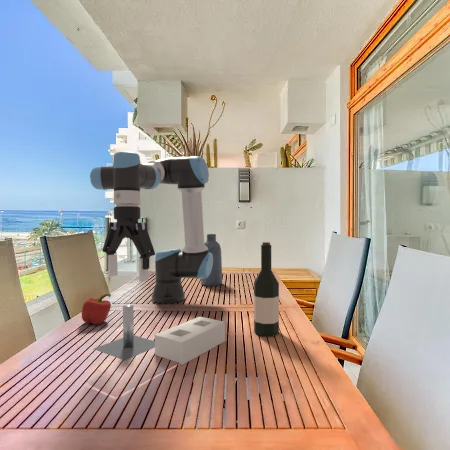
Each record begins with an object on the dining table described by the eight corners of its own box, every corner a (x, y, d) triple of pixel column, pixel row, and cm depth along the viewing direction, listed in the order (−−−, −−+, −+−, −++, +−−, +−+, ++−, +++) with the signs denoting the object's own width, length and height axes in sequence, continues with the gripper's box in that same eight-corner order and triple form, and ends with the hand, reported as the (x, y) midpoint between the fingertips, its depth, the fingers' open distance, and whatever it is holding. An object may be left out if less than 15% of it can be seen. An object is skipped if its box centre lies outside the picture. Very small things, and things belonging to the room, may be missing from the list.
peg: (121, 346, 99) (120, 306, 99) (129, 343, 101) (128, 303, 101) (127, 348, 97) (127, 307, 97) (136, 345, 100) (135, 305, 99)
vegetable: (105, 316, 130) (105, 290, 130) (118, 322, 123) (117, 295, 122) (76, 322, 122) (76, 295, 122) (88, 329, 115) (87, 300, 115)
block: (182, 365, 87) (181, 342, 87) (154, 356, 93) (154, 334, 93) (225, 341, 104) (225, 321, 104) (199, 334, 110) (199, 316, 109)
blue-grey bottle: (226, 283, 192) (226, 234, 191) (214, 287, 182) (214, 235, 181) (209, 281, 199) (208, 233, 198) (196, 284, 188) (196, 234, 188)
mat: (93, 349, 97) (93, 348, 97) (131, 335, 109) (131, 334, 109) (125, 361, 90) (125, 360, 90) (162, 344, 101) (162, 343, 101)
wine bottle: (280, 329, 114) (281, 241, 113) (276, 338, 106) (276, 243, 105) (257, 327, 117) (256, 241, 116) (250, 335, 109) (250, 243, 108)
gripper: (90, 206, 102) (90, 275, 103) (147, 204, 88) (147, 285, 89) (110, 207, 108) (111, 272, 109) (167, 205, 94) (167, 280, 95)
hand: (127, 278), depth 99 cm, fingers open, 13 cm apart
